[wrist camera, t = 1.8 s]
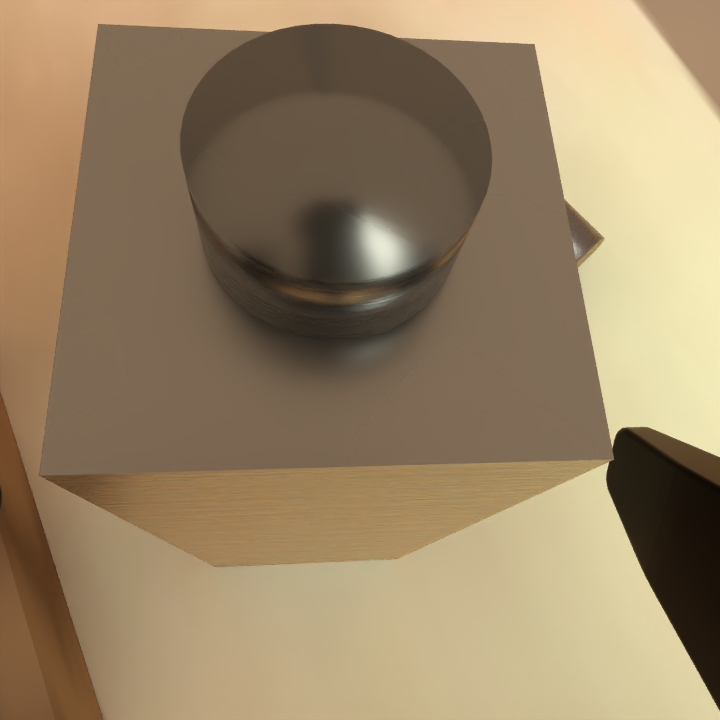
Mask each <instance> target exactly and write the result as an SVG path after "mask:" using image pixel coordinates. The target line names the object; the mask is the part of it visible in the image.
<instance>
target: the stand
mask: <svg viewBox="0 0 720 720" xmlns="http://www.w3.org/2000/svg"><path fill="white" fill-rule="evenodd" d="M0 485H1V489H2V506H1V510H0V720H103V718H102V715H101V712H100V709H99V706H98V702H97V699H96V696H95V693H94V690H93V686H92V683H91V680H90V677H89V674H88V670H87V667H86V664H85V661H84V658H83V654H82V651H81V648H80V645H79V642H78V639H77V635H76V632H75V629H74V626H73V623H72V619H71V616H70V613H69V610H68V607H67V603H66V600H65V597H64V594H63V591H62V587H61V584H60V581H59V578H58V575H57V571H56V568H55V565H54V562H53V559H52V555H51V552H50V549H49V546H48V543H47V540H46V536H45V533H44V530H43V527H42V524H41V520H40V517H39V514H38V511H37V508H36V504H35V501H34V498H33V495H32V492H31V488H30V485H29V482H28V479H27V476H26V472H25V469H24V466H23V463H22V460H21V457H20V453H19V450H18V447H17V444H16V441H15V437H14V434H13V431H12V428H11V425H10V421H9V418H8V415H7V412H6V409H5V405H4V402H3V399H2V396H1V393H0Z"/></svg>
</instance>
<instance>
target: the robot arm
mask: <svg viewBox="0 0 720 720" xmlns="http://www.w3.org/2000/svg"><path fill="white" fill-rule="evenodd" d="M612 450H613V456H614V460H612V461H610V462H609V465H608V469H607V475H606V481H607V487H608V490H609V493H610V495H611V498H612V500H613V502H614V505H615V507H616V510H617V512H618V514H619V517H620V519H621V521H622V524H623V526H624V528H625V531H626V533H627V536H628V538H629V540H630V543H631V545H632V547H633V550H634V552H635V554H636V557H637V559H638V561H639V564H640V566H641V568H642V570H643V572H644V574H645V576H646V578H647V580H648V582H649V584H650V586H651V588H652V590H653V592H654V593H655V595H656V597H657V599H658V601H659V602H660V604H661V606H662V608H663V610H664V611H665V613H666V615H667V617H668V619H669V620H670V622H671V624H672V626H673V628H674V629H675V631H676V633H677V635H678V637H679V638H680V640H681V642H682V644H683V646H684V647H685V649H686V651H687V653H688V655H689V656H690V658H691V660H692V662H693V664H694V665H695V667H696V669H697V671H698V673H699V674H700V676H701V678H702V680H703V682H704V683H705V685H706V687H707V689H708V691H709V692H710V694H711V696H712V698H713V700H714V701H715V703H716V705H717V707H718V709H719V710H720V457H718V456H715V455H713V454H711V453H708V452H706V451H703V450H701V449H699V448H696V447H694V446H692V445H689V444H687V443H684V442H682V441H680V440H677V439H675V438H672V437H670V436H668V435H665V434H663V433H660V432H658V431H656V430H653V429H651V428H648V427H626V428H622V429H621V430H619V431H618V432H617V434H616V437H615V440H614V444H613V448H612ZM1 506H2V489H1V485H0V510H1Z"/></svg>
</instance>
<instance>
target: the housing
mask: <svg viewBox="0 0 720 720" xmlns="http://www.w3.org/2000/svg"><path fill="white" fill-rule="evenodd" d="M612 460H614V456H613V450H612V445H611V440H610V435H609V430H608V424H607V419H606V414H605V409H604V404H603V398H602V393H601V388H600V383H599V378H598V372H597V367H596V362H595V357H594V352H593V346H592V341H591V336H590V331H589V326H588V320H587V315H586V310H585V305H584V300H583V294H582V289H581V284H580V279H579V274H578V268H577V263H576V258H575V253H574V248H573V242H572V237H571V232H570V227H569V222H568V216H567V211H566V206H565V201H564V196H563V190H562V185H561V180H560V175H559V170H558V164H557V159H556V154H555V149H554V144H553V138H552V133H551V128H550V123H549V117H548V112H547V107H546V102H545V97H544V91H543V86H542V81H541V76H540V71H539V65H538V60H537V55H536V50H535V45H534V44H519V43H497V42H475V41H453V40H431V39H410V38H396V37H394V36H391V35H389V34H385V33H382V32H379V31H375V30H372V29H367V28H362V27H357V26H351V25H340V24H310V25H300V26H294V27H289V28H284V29H279V30H276V31H273V32H257V31H235V30H214V29H192V28H170V27H148V26H127V25H105V24H98V30H97V37H96V45H95V53H94V60H93V68H92V76H91V83H90V91H89V99H88V106H87V114H86V121H85V129H84V137H83V144H82V152H81V160H80V167H79V175H78V183H77V190H76V198H75V205H74V213H73V221H72V228H71V236H70V244H69V251H68V259H67V267H66V274H65V282H64V290H63V297H62V305H61V312H60V320H59V328H58V335H57V343H56V351H55V358H54V366H53V374H52V381H51V389H50V396H49V404H48V412H47V419H46V427H45V435H44V442H43V450H42V458H41V465H40V473H39V476H41V477H43V478H45V479H47V480H49V481H51V482H52V483H54V484H56V485H58V486H60V487H62V488H64V489H66V490H68V491H70V492H72V493H74V494H76V495H78V496H79V497H81V498H83V499H85V500H87V501H89V502H91V503H93V504H95V505H97V506H99V507H101V508H103V509H105V510H106V511H108V512H110V513H112V514H114V515H116V516H118V517H120V518H122V519H124V520H126V521H128V522H130V523H131V524H133V525H135V526H137V527H139V528H141V529H143V530H145V531H147V532H149V533H151V534H153V535H155V536H157V537H158V538H160V539H162V540H164V541H166V542H168V543H170V544H172V545H174V546H176V547H178V548H180V549H182V550H184V551H185V552H187V553H189V554H191V555H193V556H195V557H197V558H199V559H201V560H203V561H205V562H207V563H209V564H211V565H212V566H214V567H226V566H248V565H271V564H293V563H316V562H338V561H361V560H383V559H398V558H400V557H402V556H404V555H407V554H409V553H411V552H413V551H415V550H418V549H420V548H422V547H424V546H426V545H428V544H431V543H433V542H435V541H437V540H439V539H442V538H444V537H446V536H448V535H450V534H452V533H455V532H457V531H459V530H461V529H463V528H466V527H468V526H470V525H472V524H474V523H476V522H479V521H481V520H483V519H485V518H487V517H490V516H492V515H494V514H496V513H498V512H500V511H503V510H505V509H507V508H509V507H511V506H514V505H516V504H518V503H520V502H522V501H524V500H527V499H529V498H531V497H533V496H535V495H538V494H540V493H542V492H544V491H546V490H548V489H551V488H553V487H555V486H557V485H559V484H562V483H564V482H566V481H568V480H570V479H573V478H575V477H577V476H579V475H581V474H583V473H586V472H588V471H590V470H592V469H594V468H597V467H599V466H601V465H603V464H605V463H607V462H610V461H612Z"/></svg>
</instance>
